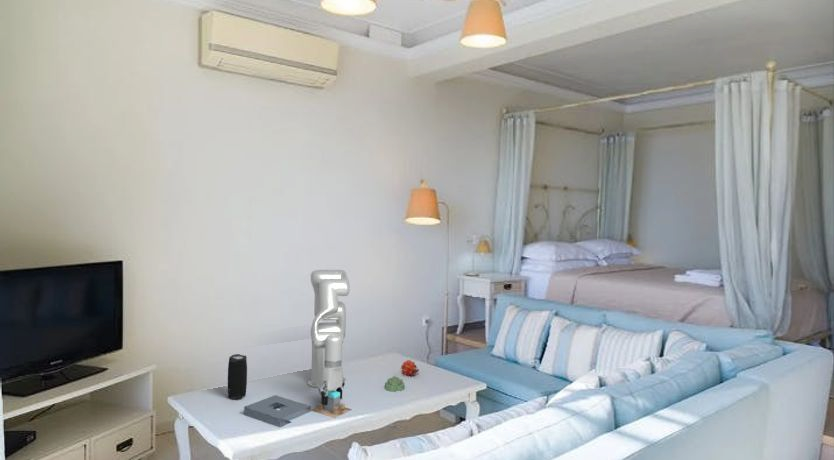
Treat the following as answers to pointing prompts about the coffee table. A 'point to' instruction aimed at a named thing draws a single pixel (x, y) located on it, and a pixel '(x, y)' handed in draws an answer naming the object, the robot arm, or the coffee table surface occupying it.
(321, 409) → the brown holder base
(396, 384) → the decorative artifact
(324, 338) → the robot arm
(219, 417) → the coffee table surface
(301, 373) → the coffee table surface
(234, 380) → the portable speaker
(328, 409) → the plug
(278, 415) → the port
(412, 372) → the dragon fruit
